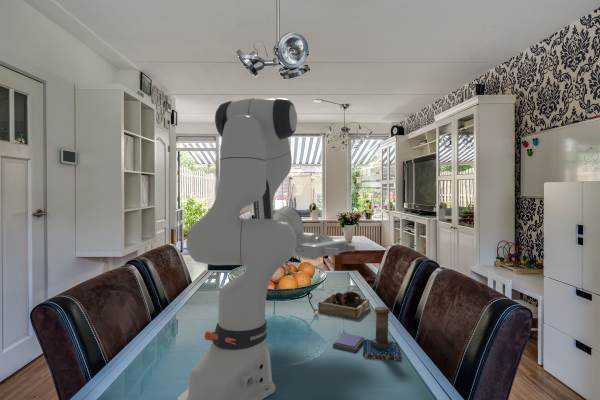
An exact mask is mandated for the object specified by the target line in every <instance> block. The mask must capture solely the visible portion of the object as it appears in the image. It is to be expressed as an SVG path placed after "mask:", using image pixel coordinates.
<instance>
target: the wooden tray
mask: <svg viewBox="0 0 600 400" xmlns="http://www.w3.org/2000/svg"><path fill="white" fill-rule="evenodd" d="M335 294H336V293H331V294H330V295H328V296H327V297H325V298H324V299H322V300H320V301H319V302H318V303H317V306H318V307H317V310H318V311H319V313H324V312H325V314H329V313H331V315H335V314H337V315H336V316H340V315H342V316H341V317H345V316H349V317H348V318H351V317H356V318H358V317H359V316H360V315H361V314H362V313H363V312H364V311H365V310H366V309H367V308H368V307H369V308H370V299H368V298H363V297H362V298H361V299H362V300H361V302H362V304H361V305H360V306H358V307H357V308H352V307H346V306H343V305H342V306H340V304H337V303H338V302H337V300H336V299H335ZM345 297H346V296H345ZM358 300H359V298H358V297H356V298H355V301H356V302H358ZM333 302H337V303H336V304H335V303H333ZM331 303H333V304H331ZM366 311H367V310H366ZM366 311H365V312H366ZM365 312H364V313H365ZM364 313H363V314H364ZM363 314H362V315H363ZM362 315H361V316H362ZM361 316H360V317H361ZM360 317H359V318H360ZM356 318H355V319H356ZM359 318H358V319H359Z"/></svg>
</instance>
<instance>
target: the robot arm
mask: <svg viewBox="0 0 600 400" xmlns="http://www.w3.org/2000/svg"><path fill="white" fill-rule="evenodd" d="M214 122H215V128H216V131H217V133H218V134H219V135H220V137H221V141H220V153H219V176H218V177H219V179H218V187H217V188H218V189H217V194H216V197H215V200H214V202H213V203H212V206H211V207H210V209H209V210H208V211H207V213H205V214H204V216H203V217H202V218H200V219H198V220H197V221H196V222H194V224H192V226H191V228H190V229H189V231H188V232H187V235H186V241H185V242H186V244H185V245H186V249H187V252H188V254H189V256H190V257H191V259H192V260H193V261H194V262H197V263H200V264H204V265H212V266H243V267H244V268H245V271H244V272H243V274H241V275H240V276H238V277H236V278H233V279H232V280H230V281H228V282H227V283H225V284H224V285H223V286H222V287H221V289H220V290H219V293H218V299H217V300H218V301H217V303H218V305H217V308H218V309H217V310H218V317H217V318H218V319H217V320H218V321H217V323H216V326H215V329H214V331H211V330H206V331H205V333H204V339H205V340H206V341H210V342H212V343H211V344H210V346H209V348H207V350H206V351H205V353H204V354H203V356H202V357H201V359H200V360H199V361H198V363H197V364H196V366H194V368H193V369H192V371H191V373H190V376H189V381H188V383H189V384H188V387H187V389H185V391H183V392H182V393H181V394H179V395H178V396H177V398H176V400H264V399H265V398H267V397H269V396H271V395H272V394H274V393H275V392H276V390H277V389H276V384H275V382H274V381H273V378H272V364H271V363H272V362H271V353H270V351H269V348H268V344H267V341H266V339H267V338H268V337H267V336H268V324H267V323H268V322H267V320H266V301H267V294H268V288H269V285H270V282H271V280H272V278H273V277H274V275H275V274H276V272H277V271H278V270H279V269H280V268H281V267H282V266H283V265H284V264H285V263H287V262H288V261H290V260H291V258H292V257H293V258H294V257H298V258H300V259H307V260H311V261H315V260H317V259H318V258H322V257H326V256H331V255H332V256H339V255H340V253H345V252H355V251H356V245H354V244H350V241H349V240H348V239H344V238H338V237H333V236H332V237H331V236H330V235H327V234H320V233H315V232H304V223H303V219H302V217H301V214H300V212H299V211H298V210H297V209H296V208H294V207H293V206H288V205H284V206H282V207H280V208H279V209H278V210H276V212H274V204H273V203H274V197H275V195H276V193H277V191H278V189H279V187H280V186H281V184H282V183H283V181H285V180H286V178H287V177H288V175H289V174H290V172H291V169H292V161H293V160H292V159H293V158H292V152H291V151H292V150H291V145H290V141H289V138H290V137H292V136H293V135H294V133H295V132H296V130H297V125H298V114H297V110H296V107H295V104H294V103H293V102H291V100H289V99H288V98H282V97H276V98H254V97H252V98H245V99H239V100H234V101H233V100H229V101H226V102H223V103H221V104H219V106H218V107H217V109H216V111H215V116H214ZM252 204H253V213H254V214H253V215H254V218H242V217H240V213H241V211H242V210H243V209H244V208H246V207H247V206H250V205H252Z"/></svg>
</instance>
